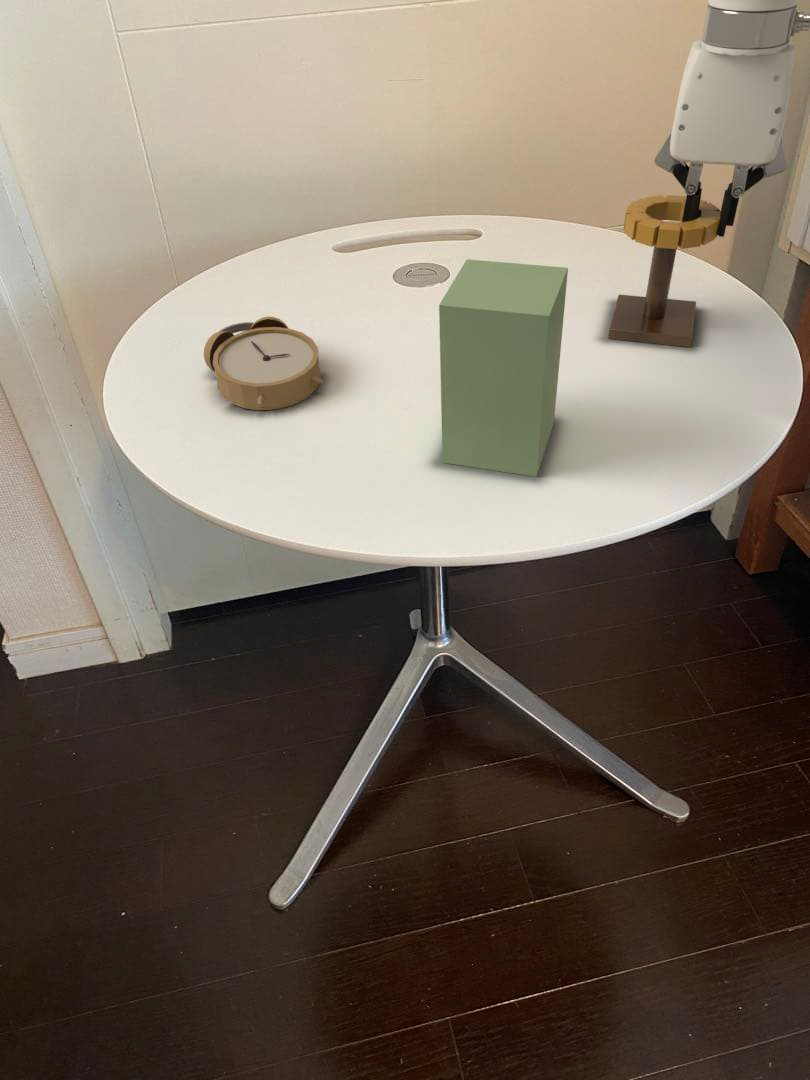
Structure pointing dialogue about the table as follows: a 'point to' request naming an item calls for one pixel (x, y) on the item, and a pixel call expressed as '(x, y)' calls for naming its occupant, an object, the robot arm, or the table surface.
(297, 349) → the alarm clock
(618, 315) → the peg stand
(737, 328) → the table surface
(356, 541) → the table surface
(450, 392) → the sage green upright pillar
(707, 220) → the brass ring
